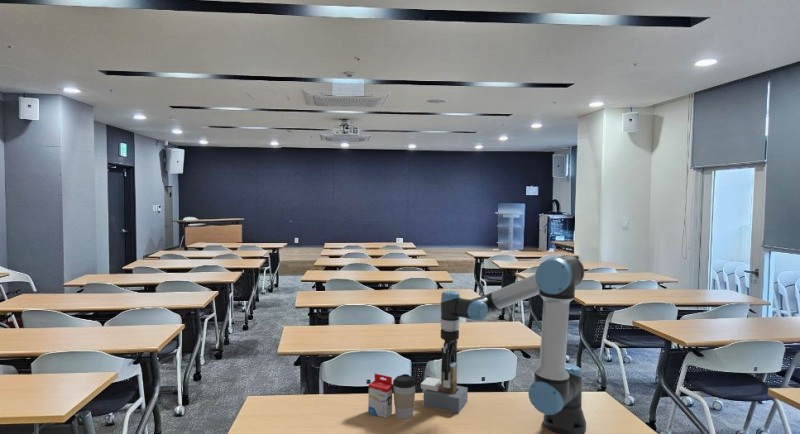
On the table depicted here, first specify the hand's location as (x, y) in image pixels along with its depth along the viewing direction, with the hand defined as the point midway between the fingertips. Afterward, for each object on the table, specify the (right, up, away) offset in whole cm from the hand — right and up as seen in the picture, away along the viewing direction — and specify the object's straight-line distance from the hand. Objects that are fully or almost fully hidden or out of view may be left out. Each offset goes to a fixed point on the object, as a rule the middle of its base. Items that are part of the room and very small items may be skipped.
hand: (449, 384), depth 190 cm
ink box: (-28, -9, -8) cm, 31 cm away
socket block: (-1, -8, +1) cm, 8 cm away
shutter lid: (-7, -2, +3) cm, 8 cm away
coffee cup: (-19, -9, -9) cm, 23 cm away
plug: (0, -3, 0) cm, 3 cm away
